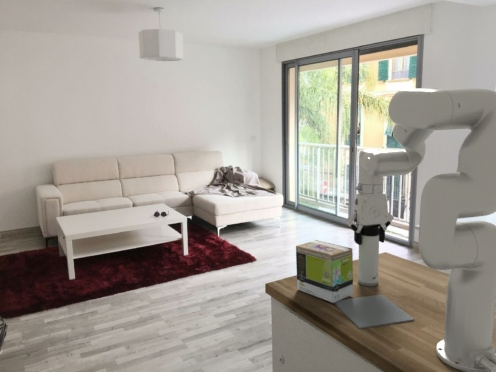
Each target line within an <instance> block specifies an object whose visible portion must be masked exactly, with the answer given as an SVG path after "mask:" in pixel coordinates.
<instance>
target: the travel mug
mask: <svg viewBox="0 0 496 372" xmlns="http://www.w3.org/2000/svg"><path fill="white" fill-rule="evenodd" d="M379 226H380V227H381V225H380V224H379V225H368V226H363V227H362V229H361V231H360V233H362V242H361V245H358V264H357V265H358V267H357V270H358V271H357V272H358V274H357V277H358V278H357V282H358V284H360V285H361V286H364V287H374V286H377V285H378V284H379V257H380V256H379V253H380V248H379V247H380V241H379Z"/></svg>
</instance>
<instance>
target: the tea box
mask: <svg viewBox="0 0 496 372" xmlns="http://www.w3.org/2000/svg"><path fill="white" fill-rule="evenodd" d="M353 256H354V255H353V248H352V247H348V246H343V245H339V244H334V243H331V242H326V241H322V240H318V239H315V240H312V241H308V242H304V243H302V244H299V245H296V246H295V260H296V261H295V262H296V263H295V265H296V288H297V291H301V292H304V293H307V294H309V295H311V296H314V297H317V298H319V299H322V300H325V301H327V302H330V303H331V304H334V302H337V301H339V300H344V299H347V298H349V297H350V296H352V295H353V294H354V273H353V272H354V266H353Z"/></svg>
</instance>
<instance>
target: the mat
mask: <svg viewBox="0 0 496 372" xmlns="http://www.w3.org/2000/svg"><path fill="white" fill-rule="evenodd" d="M333 304H334V305H335V306H336V307H337V308H339V310H340V311H341V312H342V314H344V315H345V316H346V317H347V318H348V319H349V320H350V321H351V322H352V324H354V325H355V326H356V327H357V328H358V329H360V330H361V329H367V328H368V329H369V328H374V327H375V328H376V327H380V326H386V325H387V326H388V325H392V324H393V325H394V324H399V323H407V322H411V321H412V322H414V320H415V319H414V317H412V316H411V315H410V314H408V313H407V312H406V311H404V310H403V309H402V308H400V307H399V306H398V305H396V304H395V303H394V302H393V301H391V300H390V299H389V298H387V296H385V295H384V294H375V295H368V296H362V297H353V298H344V299H341V300H339V301H337V302H334V303H333Z"/></svg>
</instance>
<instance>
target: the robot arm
mask: <svg viewBox="0 0 496 372" xmlns="http://www.w3.org/2000/svg"><path fill="white" fill-rule="evenodd" d="M387 109H388V111H387V112H388V115H389V119H390V120H391V121H392V122H393V123H394V124H395V125H394V127H393V129H392V130H393V131H392V134H393V138H394V139H395V140H396V142H397V143H398V144H399V145H400V146H402V147H403V149H391V150H390V149H389V150H381V149H378V148H377V149H376V148H375V149H374V148H373V149H371V148H370V149H369V148H368V149H362V150H360V151H359V154H358V183H357V185H355V186H354V190H355V191H358V192H356V194H355V198H354V204H353V213H352V214H351V215H349V216H348V217H347V218H346V219H345V223H346V224H347V225H348V226H349V228H350V229H351V230H352V231H353V232H354V233H353V241H354V243H355V244H357V245H358V246H359V245H361V242H362V233H360V231H361V229H362V227H363V226H368V225H379V224H380V225H381V227H380V226H379V243H385V238H386V231H387V229H388V227H389V226H390V225H391V222H393V220H394V218H395V216H393V215H392V214H391V213H390V212H389V209H388V199H387V194H386V192H384V178H385V177H392V176H395V177H396V176H405V175H408V174H410V173H412V172H413V171H414V170H415V169H416V168H417V167H418V166H419V165H420V164H421V163H422V161H423V160H424V159H425V154H426V147H427V146H426V140H427V139H428V138H429V137H430V136H431V135H432V133H433V132H434V131H445V130H446V131H448V130H465V129H467V130H470V132H469V133H468V134H467V136H466V137H465V139H463V142H462V144H461V146H460V148H459V151H458V156H457V157H458V159H457V161H458V162H457V168H456V171H455V172H451V173H450V172H449V173H440V174H437V175H433V176H432V177H431V178H429V180H427V181H426V183H425V185H424V186H423V188H422V192H421V196H420V203H419V204H420V205H419V225H418V226H419V227H418V251H419V255H420V258H421V259H422V261H423V263H424V264H425V265H426V266H427V267H428V268H430V269H433V270H437V271H446V270H450V273H449V275H448V278H447V285H446V300H445V301H446V302H445V319H444V332H443V334H444V336H443V337H444V338H443V339H442V340H440V341H439V342H437V344H436V348H435V352H436V355H437V357H438V358H439V359H440V360H441V361H442V362H444V364H446V365H448V366H450V367H452V368H454V369H456V370H460V371H462V372H496V348H495V347H494V346H493V334H494V325H495V324H494V323H495V313H496V312H495V310H496V225H495V224H493V223H492V222H488V221H485V220H484V221H483V220H467V221H459V222H457V221H458V220H459V219H469V218H470V219H471V218H476V217H477V218H478V217H485V216H491V215H493V214H495V213H496V90H495V91H494V90H491V89H485V88H450V89H449V88H445V89H444V88H443V89H442V88H436V87H420V88H418V87H415V88H414V87H413V88H402V89H400V90H398V91H397V92H396V93H394V95H393V96H392V97H391V99H390V101H389V104H388V108H387Z"/></svg>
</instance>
